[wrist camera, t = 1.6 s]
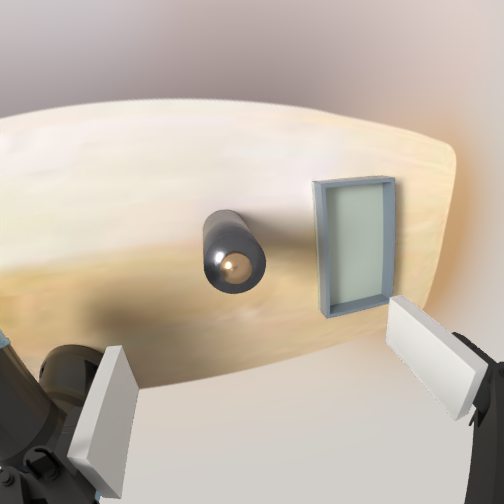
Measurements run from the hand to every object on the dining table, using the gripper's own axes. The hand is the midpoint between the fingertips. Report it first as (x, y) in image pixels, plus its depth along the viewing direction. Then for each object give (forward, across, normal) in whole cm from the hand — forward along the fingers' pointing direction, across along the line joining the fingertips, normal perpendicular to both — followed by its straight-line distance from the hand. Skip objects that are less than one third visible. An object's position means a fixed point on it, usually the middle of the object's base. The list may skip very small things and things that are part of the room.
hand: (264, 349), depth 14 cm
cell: (+24, 0, 0) cm, 24 cm away
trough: (+24, -16, +4) cm, 29 cm away
